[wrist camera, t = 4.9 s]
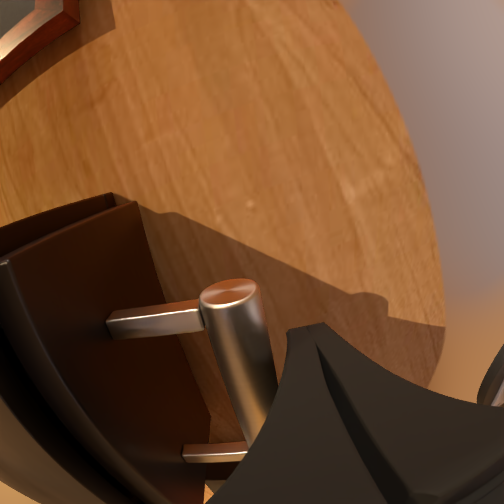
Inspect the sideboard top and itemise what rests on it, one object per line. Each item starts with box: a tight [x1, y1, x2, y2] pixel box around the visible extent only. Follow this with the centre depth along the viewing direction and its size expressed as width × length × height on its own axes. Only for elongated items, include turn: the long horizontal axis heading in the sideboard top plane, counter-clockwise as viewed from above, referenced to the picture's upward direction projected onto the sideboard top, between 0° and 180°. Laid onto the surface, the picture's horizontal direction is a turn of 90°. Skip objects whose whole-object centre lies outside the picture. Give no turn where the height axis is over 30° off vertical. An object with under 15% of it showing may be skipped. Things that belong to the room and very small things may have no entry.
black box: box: [0, 192, 145, 504], centre depth 8 cm, size 16×13×9 cm
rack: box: [0, 201, 278, 504], centre depth 8 cm, size 18×11×7 cm, turn 100°
